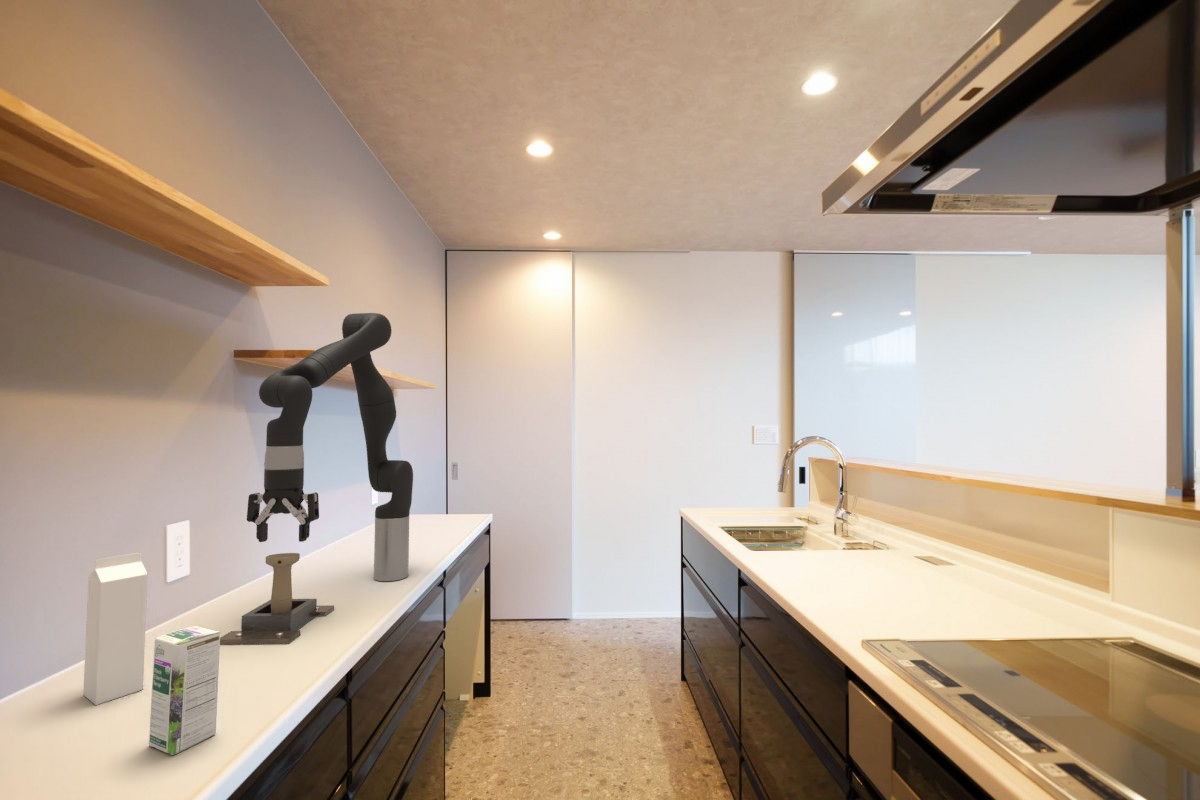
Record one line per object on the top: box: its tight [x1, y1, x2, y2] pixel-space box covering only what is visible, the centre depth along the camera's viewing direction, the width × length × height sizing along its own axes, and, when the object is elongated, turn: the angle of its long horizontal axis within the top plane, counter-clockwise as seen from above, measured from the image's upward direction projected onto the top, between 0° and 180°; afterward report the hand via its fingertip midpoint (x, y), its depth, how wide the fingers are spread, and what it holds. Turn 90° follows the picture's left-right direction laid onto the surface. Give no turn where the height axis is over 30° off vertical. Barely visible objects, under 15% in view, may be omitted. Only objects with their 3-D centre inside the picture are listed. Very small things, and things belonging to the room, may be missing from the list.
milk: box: [82, 552, 149, 706], centre depth 89 cm, size 6×6×22 cm
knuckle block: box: [220, 598, 335, 646], centre depth 118 cm, size 20×14×4 cm
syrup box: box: [148, 625, 221, 756], centre depth 76 cm, size 6×6×14 cm
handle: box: [265, 552, 301, 613], centre depth 118 cm, size 5×6×15 cm
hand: (282, 541), depth 119 cm, fingers open, 8 cm apart
